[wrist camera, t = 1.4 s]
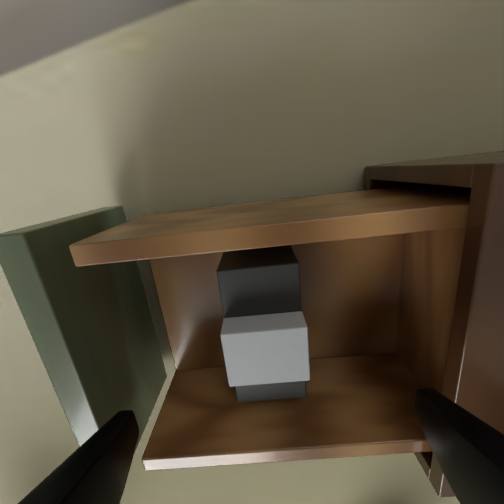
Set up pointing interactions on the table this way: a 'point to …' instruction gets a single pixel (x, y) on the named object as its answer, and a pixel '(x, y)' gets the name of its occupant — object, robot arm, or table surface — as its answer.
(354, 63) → the table surface
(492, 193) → the cabinet
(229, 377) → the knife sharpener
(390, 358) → the drawer
